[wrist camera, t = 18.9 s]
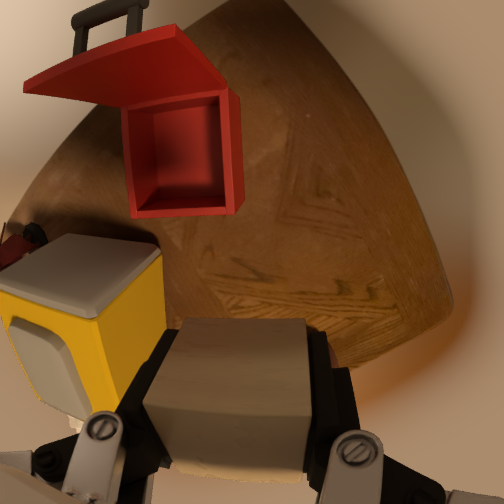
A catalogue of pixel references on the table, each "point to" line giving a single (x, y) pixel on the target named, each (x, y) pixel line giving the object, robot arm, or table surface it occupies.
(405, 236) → the table surface
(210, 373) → the block
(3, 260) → the figurine
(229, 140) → the open red box
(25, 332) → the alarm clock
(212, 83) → the lid
